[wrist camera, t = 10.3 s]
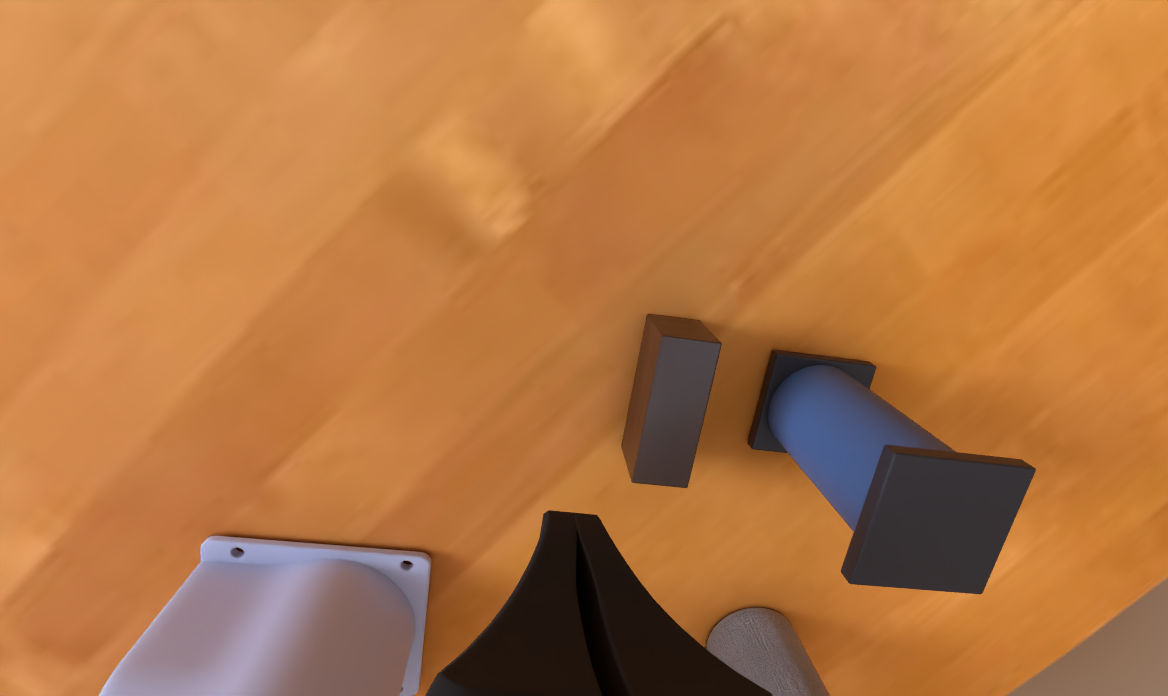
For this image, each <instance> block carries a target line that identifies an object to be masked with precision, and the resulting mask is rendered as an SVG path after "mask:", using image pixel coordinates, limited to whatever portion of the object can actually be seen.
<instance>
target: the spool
mask: <svg viewBox="0 0 1168 696" xmlns="http://www.w3.org/2000/svg"><path fill="white" fill-rule="evenodd" d="M875 370H876V366H875V365H873V364H872V363H870V362H866V361H858V360H850V359H843V358H835V357H827V356H819V355H812V354H804V353H796V352H788V351H780V350H772V354H771V357H770V361H769V365H768V369H767V372H766V376H765V380H764V384H763V388H762V391H761V395H760V399H759V403H758V406H757V410H756V414H755V418H754V421H753V425H752V429H751V433H750V436H749V440H748V444H749V446H750V447H751V448H752V449H755V450H764V451H774V452H783V453H789V455H790V456H791V457H792V458H793V459H794V461H795V462H796V463H797V464H798V465H799V467H800V468H801V469H802V470H803V471H804V473H805V474H806V475H807V476H808V477H809V479H810V480H811V481H812V482H813V483H814V485H815V486H816V487H817V488H818V489H819V491H820V492H821V493H822V494H823V495H824V497H825V498H826V499H827V500H828V501H829V503H830V504H831V505H832V506H833V507H834V509H835V510H836V511H837V512H838V513H839V515H840V516H841V517H842V518H843V519H844V521H845V522H846V523H847V524H848V525H849V527H850V528H851V529H852V530H853V531H854V534H853V536H852V539H851V542H850V545H849V548H848V551H847V554H846V557H845V560H844V563H843V566H842V569H841V573H842V574H843V576H844V577H845V578H846V580H847V581H848V582H849V583H850V584H857V585H870V586H882V587H895V588H908V589H921V590H933V591H946V592H959V593H972V594H982V593H983V591H984V588H985V586H986V584H987V581H988V579H989V577H990V574H991V572H992V570H993V568H994V565H995V563H996V561H997V558H998V556H999V554H1000V551H1001V549H1002V547H1003V545H1004V542H1005V540H1006V538H1007V535H1008V533H1009V531H1010V528H1011V526H1012V524H1013V522H1014V519H1015V517H1016V515H1017V512H1018V510H1019V508H1020V505H1021V503H1022V501H1023V499H1024V496H1025V494H1026V492H1027V489H1028V487H1029V485H1030V482H1031V480H1032V478H1033V476H1034V473H1035V471H1036V469H1035V468H1034V467H1032V466H1031V465H1029V464H1028V463H1026V462H1024V461H1023V460H1021V459H1012V458H1003V457H994V456H985V455H976V454H967V453H958V452H955V451H954V450H953V449H951V448H950V447H948V446H947V445H946V444H944V443H943V442H942V441H940V440H939V439H937V438H936V437H935V436H933V435H932V434H931V433H929V432H928V431H926V430H925V429H924V428H922V427H921V426H919V425H918V424H917V423H915V422H914V421H913V420H911V419H910V418H908V417H907V416H906V415H904V414H903V413H901V412H900V411H899V410H897V409H896V408H895V407H893V406H892V405H890V404H889V403H888V402H886V401H885V400H883V399H882V398H881V397H879V396H878V395H877V394H875V393H874V392H872V391H871V390H870V389H869V388H870V385H871V382H872V379H873V376H874V373H875Z"/></svg>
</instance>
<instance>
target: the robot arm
mask: <svg viewBox="0 0 1168 696" xmlns="http://www.w3.org/2000/svg"><path fill="white" fill-rule="evenodd" d="M236 547H238V548H241V549H242V550H243V551H244V552H240V551H238V550H237V549H236ZM200 550H201V562H200V563H199V565H198V566H197V567H196V568H195V570H194V571H193V572H192V573H191V574H190V576H189V577H188V578H187V579H186V581H185V582H184V583H183V584H182V586H181V587H180V588H179V589H178V591H177V592H176V593H175V594H174V596H173V597H172V598H171V599H170V601H169V602H168V603H167V604H166V606H165V607H164V608H163V609H162V611H161V612H160V613H159V614H158V616H157V617H156V618H155V619H154V621H153V622H152V623H151V624H150V626H149V627H148V628H147V629H146V631H145V632H144V633H143V634H142V636H141V637H140V638H139V639H138V641H137V642H136V643H135V644H134V646H133V647H132V648H131V649H130V651H129V652H128V653H127V654H126V656H125V657H124V658H123V659H122V661H121V662H120V663H119V664H118V666H117V667H116V669H115V670H114V671H113V673H112V674H111V676H110V677H109V679H108V680H107V682H106V684H105V685H104V687H103V688H102V690H101V692H100V694H99V696H413V695H415V694H416V693H417V692H418V690H419V686H420V677H421V667H422V656H423V645H424V635H425V624H426V614H427V603H428V592H429V582H430V571H431V558H430V557H429V555H427V554H426V553H423V552H416V551H403V550H391V549H378V548H365V547H353V546H340V545H328V544H315V543H303V542H290V541H277V540H265V539H252V538H240V537H227V536H210V537H208V538H207V539H206V540H205V541H204V543H203V544H202V545H201V549H200ZM403 561H410V562H411V563H412V564H410V565H407V564H405V563H404V562H403ZM425 696H773V695H772V693H770V692H769V691H767V690H765V689H764V688H762V687H760V686H759V685H757V684H756V683H754V682H752V681H751V680H749V679H748V678H746V677H744V676H743V675H741V674H739V673H738V672H736V671H735V670H733V669H732V668H731V667H729V666H728V665H727V664H725V663H724V662H722V661H721V660H720V659H718V658H717V657H716V656H714V655H713V654H712V653H710V652H709V651H708V650H707V649H705V648H704V647H703V646H702V645H700V644H699V643H698V642H697V641H696V640H695V639H694V638H692V637H691V636H690V635H689V634H688V633H687V632H686V631H684V630H683V629H682V628H681V627H680V626H679V625H678V624H677V623H676V622H675V621H674V620H673V619H672V618H671V617H670V616H669V615H668V614H667V613H666V612H665V611H664V610H663V609H662V608H661V606H660V605H659V604H658V603H657V602H656V601H655V600H654V599H653V598H652V596H651V595H650V594H649V593H648V591H647V590H646V589H645V588H644V586H643V585H642V584H641V582H640V581H639V580H638V578H637V577H636V576H635V574H634V573H633V571H632V570H631V569H630V567H629V566H628V564H627V563H626V561H625V560H624V558H623V557H622V555H621V554H620V552H619V551H618V549H617V547H616V546H615V544H614V543H613V541H612V539H611V538H610V536H609V534H608V532H607V531H606V529H605V527H604V525H603V524H602V522H601V520H600V519H599V517H598V516H597V515H591V514H581V513H571V512H560V511H550V510H549V511H547V512H546V513H544V514H543V521H542V527H541V533H540V538H539V541H538V544H537V546H536V549H535V551H534V553H533V556H532V558H531V560H530V562H529V564H528V566H527V568H526V570H525V572H524V574H523V576H522V577H521V579H520V581H519V583H518V585H517V586H516V588H515V590H514V591H513V593H512V594H511V596H510V597H509V599H508V600H507V602H506V603H505V605H504V606H503V607H502V609H501V610H500V611H499V613H498V614H497V615H496V617H495V618H494V619H493V620H492V622H491V623H490V624H489V625H488V626H487V628H486V629H485V630H484V631H483V632H482V633H481V634H480V635H479V636H478V637H477V638H476V639H475V641H474V642H473V643H472V644H471V645H470V646H469V647H468V648H467V649H466V650H465V651H464V652H463V653H462V654H461V655H460V656H458V657H457V658H456V659H455V660H454V661H452V662H451V663H450V664H449V665H448V666H446V667H445V668H444V669H443V670H442V671H441V672H439V673H438V674H437V676H436V678H435V679H434V681H433V683H432V684H431V686H430V688H429V690H428V692H427V693H426V695H425Z"/></svg>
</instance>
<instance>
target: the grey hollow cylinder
mask: <svg viewBox="0 0 1168 696" xmlns="http://www.w3.org/2000/svg"><path fill="white" fill-rule="evenodd" d="M706 649H707V650H708V651H709V652H710V653H712V654H713V655H714V656H716V657H717V658H718V659H720V660H721V661H722V662H724V663H725V664H727V665H728V666H729V667H731V668H732V669H733V670H735V671H736V672H738V673H739V674H741V675H743V676H744V677H746V678H748V679H749V680H751V681H752V682H754V683H756V684H757V685H759V686H760V687H762V688H764V689H765V690H767V691H769V692H770V693H772V695H773V696H830V695H829V693H828V691H827V689H826V687H825V686H824V684H823V682H822V680H821V678H820V676H819V674H818V673H817V671H816V669H815V667H814V665H813V663H812V661H811V660H810V658H809V656H808V654H807V652H806V650H805V648H804V647H803V645H802V643H801V641H800V639H799V637H798V635H797V634H796V632H795V630H794V629H793V627H792V625H791V624H790V622H789V621H788V620H787V619H786V618H785V617H784V616H783V615H781V614H780V613H778V612H776V611H773V610H770V609H766V608H748V609H743V610H740V611H737V612H734V613H732V614H730V615H729V616H727V617H725V618H724V619H723V620H721V621H720V622H719V623H718V624H717V625H716V626H715V627H714V629H713V630H712V632H711V633H710V635H709V637H708V640H707V644H706Z"/></svg>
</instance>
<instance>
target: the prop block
mask: <svg viewBox="0 0 1168 696" xmlns="http://www.w3.org/2000/svg"><path fill="white" fill-rule="evenodd" d="M721 345H722V343H721V342H720V341H719V340H718V339H717V338H716V337H715V336H714V335H713V334H712V333H711V332H710V331H709V330H708V328H707V327H706V326H705V325H704V324H703V323H702V322H701V321H698V320H691V319H684V318H676V317H669V316H661V315H654V314H647V317H646V323H645V328H644V333H643V338H642V343H641V348H640V353H639V358H638V363H637V369H636V374H635V379H634V384H633V389H632V394H631V399H630V404H629V410H628V415H627V420H626V425H625V430H624V435H623V440H622V445H621V447H622V450H623V454H624V457H625V460H626V464H627V467H628V471H629V474H630V478H631V481H632V483H640V484H651V485H661V486H671V487H681V488H687V487H688V483H689V479H690V475H691V471H692V467H693V462H694V458H695V454H696V450H697V446H698V441H699V437H700V433H701V429H702V425H703V420H704V416H705V412H706V408H707V404H708V399H709V395H710V391H711V387H712V383H713V378H714V374H715V370H716V366H717V362H718V358H719V353H720V349H721Z"/></svg>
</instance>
